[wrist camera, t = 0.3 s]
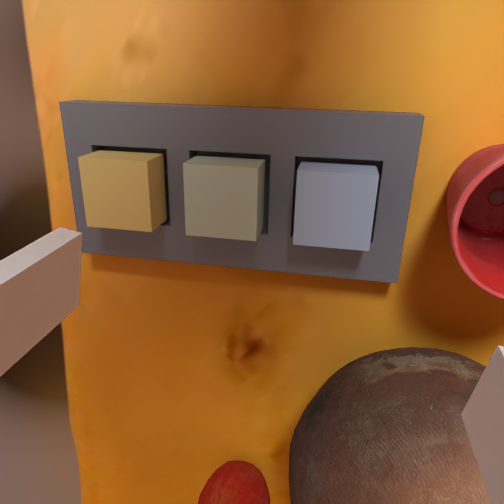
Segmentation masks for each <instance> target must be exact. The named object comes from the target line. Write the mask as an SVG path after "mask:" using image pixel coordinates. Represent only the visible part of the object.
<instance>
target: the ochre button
mask: <svg viewBox="0 0 504 504" xmlns="http://www.w3.org/2000/svg"><path fill="white" fill-rule="evenodd" d="M78 162H79V170H80V177H81V185H82V193H83V200H84V208H85V216H86V223H87V226H88V227H99V228H111V229H122V230H133V231H145V232H153V231H154V230H155V229H156V228H157V227H159V226H160V225H161V224H162V223H163V222H164V221H166V220H167V214H166V196H165V179H164V161H163V154H158V153H140V152H123V151H105V150H98V151H95V152H92V153H89V154H86V155H83V156H80V157H78Z"/></svg>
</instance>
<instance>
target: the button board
mask: <svg viewBox="0 0 504 504" xmlns="http://www.w3.org/2000/svg"><path fill="white" fill-rule="evenodd" d="M59 103H60V110H61V117H62V125H63V132H64V139H65V146H66V153H67V160H68V168H69V175H70V182H71V189H72V196H73V203H74V210H75V218H76V225H77V232H80V233H82V246H81V252H83V253H93V254H103V255H114V256H124V257H134V258H144V259H154V260H164V261H174V262H185V263H195V264H205V265H215V266H225V267H235V268H246V269H256V270H266V271H276V272H286V273H296V274H307V275H317V276H327V277H337V278H347V279H357V280H368V281H378V282H388V283H397V280H398V274H399V268H400V262H401V256H402V250H403V244H404V238H405V231H406V225H407V219H408V213H409V207H410V201H411V195H412V189H413V183H414V176H415V170H416V164H417V158H418V152H419V146H420V140H421V134H422V128H423V121H424V115H422V114H420V113H407V112H380V111H353V110H326V109H299V108H272V107H245V106H218V105H191V104H164V103H138V102H111V101H84V100H73V101H64V102H59ZM98 150H105V151H123V152H140V153H158V154H163V161H164V179H165V196H166V214H167V220H166V221H164V222H163V223H162V224H161V225H160V226H159V227H157V228H156V229H155V230H154V231H153V232H145V231H133V230H122V229H111V228H99V227H88V226H87V223H86V216H85V208H84V200H83V193H82V185H81V177H80V170H79V162H78V157H80V156H83V155H86V154H89V153H92V152H95V151H98ZM195 156H211V157H228V158H246V159H263V160H265V184H264V216H263V229H262V231H261V233H260V235H259V237H258V239H257V241H247V240H236V239H224V238H213V237H202V236H190V235H186V229H185V204H184V179H183V163H185V162H186V161H188V160H190V159H192V158H193V157H195ZM301 162H316V163H334V164H351V165H369V166H376V167H377V170H378V173H379V181H378V188H377V196H376V203H375V211H374V218H373V226H372V234H371V241H370V249H369V251H361V250H350V249H338V248H327V247H316V246H304V245H293V232H294V216H295V199H296V182H297V170H298V168H299V165H300V163H301Z"/></svg>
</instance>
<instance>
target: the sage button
mask: <svg viewBox="0 0 504 504" xmlns="http://www.w3.org/2000/svg"><path fill="white" fill-rule="evenodd" d="M183 179H184V204H185V229H186V235H190V236H202V237H213V238H224V239H236V240H247V241H257V239H258V237H259V235H260V233H261V231H262V229H263V216H264V184H265V160H263V159H246V158H228V157H211V156H195V157H193V158H192V159H190V160H188V161H186V162H185V163H183Z"/></svg>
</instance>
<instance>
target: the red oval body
mask: <svg viewBox="0 0 504 504" xmlns="http://www.w3.org/2000/svg"><path fill="white" fill-rule="evenodd" d="M198 504H270V497H269V492H268V488H267V485H266V482H265V479H264V477H263V475H262V473H261V472H260V470H259V469H258V468H256V467H255V466H254V465H253V464H250V463H247V462H245V461H236V460H235V461H229V462H227V463H225V464H224V465H222V466H221V467H220V468H218V469H217V470H216V471H215V472H214V473H213V474H212V476H211V477H210V478H209V479H208V481H207V483H206V485H205V487H204V488H203V490H202V492H201V494H200V496H199V501H198Z"/></svg>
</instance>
